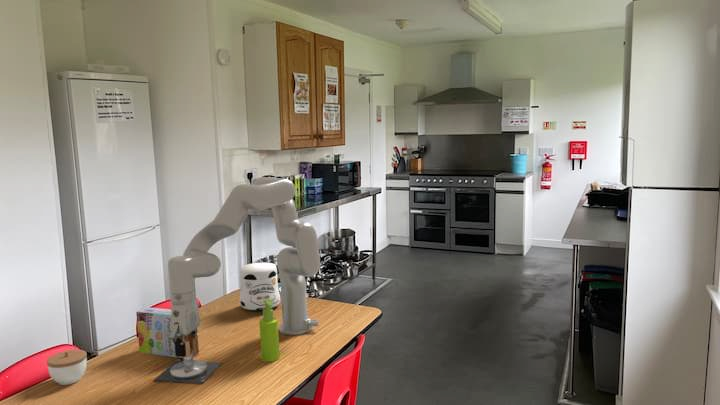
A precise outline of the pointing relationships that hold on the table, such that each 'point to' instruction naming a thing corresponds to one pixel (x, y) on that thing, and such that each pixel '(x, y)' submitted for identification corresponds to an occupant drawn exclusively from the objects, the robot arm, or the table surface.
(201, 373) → the grey peg stand
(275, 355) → the soap dispenser
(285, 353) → the table surface
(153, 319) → the snack box
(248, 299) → the milk container
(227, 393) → the table surface
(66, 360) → the lidded jar
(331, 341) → the table surface
